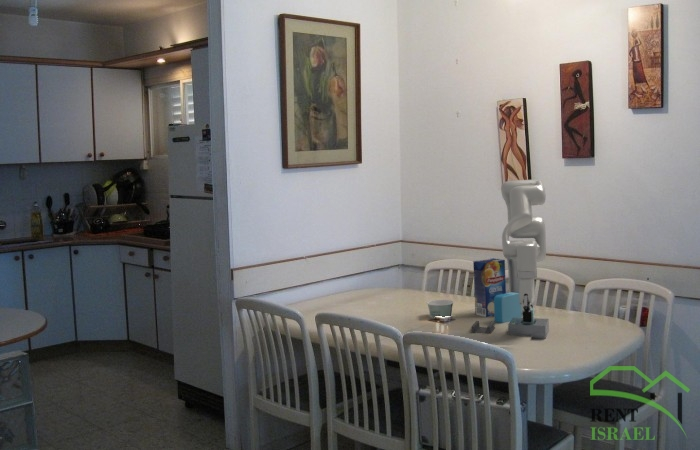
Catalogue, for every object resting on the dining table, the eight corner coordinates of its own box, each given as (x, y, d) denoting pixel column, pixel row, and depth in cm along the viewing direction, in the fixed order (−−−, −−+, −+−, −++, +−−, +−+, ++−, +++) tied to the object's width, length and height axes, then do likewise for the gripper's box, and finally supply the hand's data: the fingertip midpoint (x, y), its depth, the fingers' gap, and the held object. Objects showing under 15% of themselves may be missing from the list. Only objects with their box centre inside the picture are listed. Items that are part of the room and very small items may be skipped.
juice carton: (486, 317, 320) (484, 263, 318) (475, 314, 326) (473, 261, 324) (506, 312, 326) (504, 259, 324) (495, 310, 333) (493, 258, 330)
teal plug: (524, 332, 290) (523, 305, 289) (534, 332, 288) (533, 306, 287) (523, 335, 286) (522, 308, 285) (533, 335, 285) (532, 308, 284)
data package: (513, 319, 314) (512, 291, 313) (521, 320, 310) (521, 292, 309) (494, 324, 307) (493, 295, 306) (502, 325, 303) (501, 297, 302)
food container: (423, 318, 324) (422, 304, 323) (433, 312, 335) (432, 298, 334) (448, 320, 318) (448, 305, 318) (458, 314, 329) (457, 300, 328)
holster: (475, 329, 300) (475, 320, 299) (495, 329, 297) (495, 321, 296) (471, 335, 290) (470, 326, 290) (491, 335, 288) (490, 327, 287)
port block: (513, 329, 295) (512, 316, 295) (548, 331, 290) (548, 317, 290) (508, 337, 284) (508, 323, 284) (545, 338, 279) (545, 324, 278)
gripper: (520, 271, 294) (521, 314, 296) (514, 278, 278) (515, 324, 280) (539, 271, 292) (540, 315, 293) (534, 278, 276) (535, 325, 277)
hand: (528, 319), depth 287 cm, fingers open, 6 cm apart
